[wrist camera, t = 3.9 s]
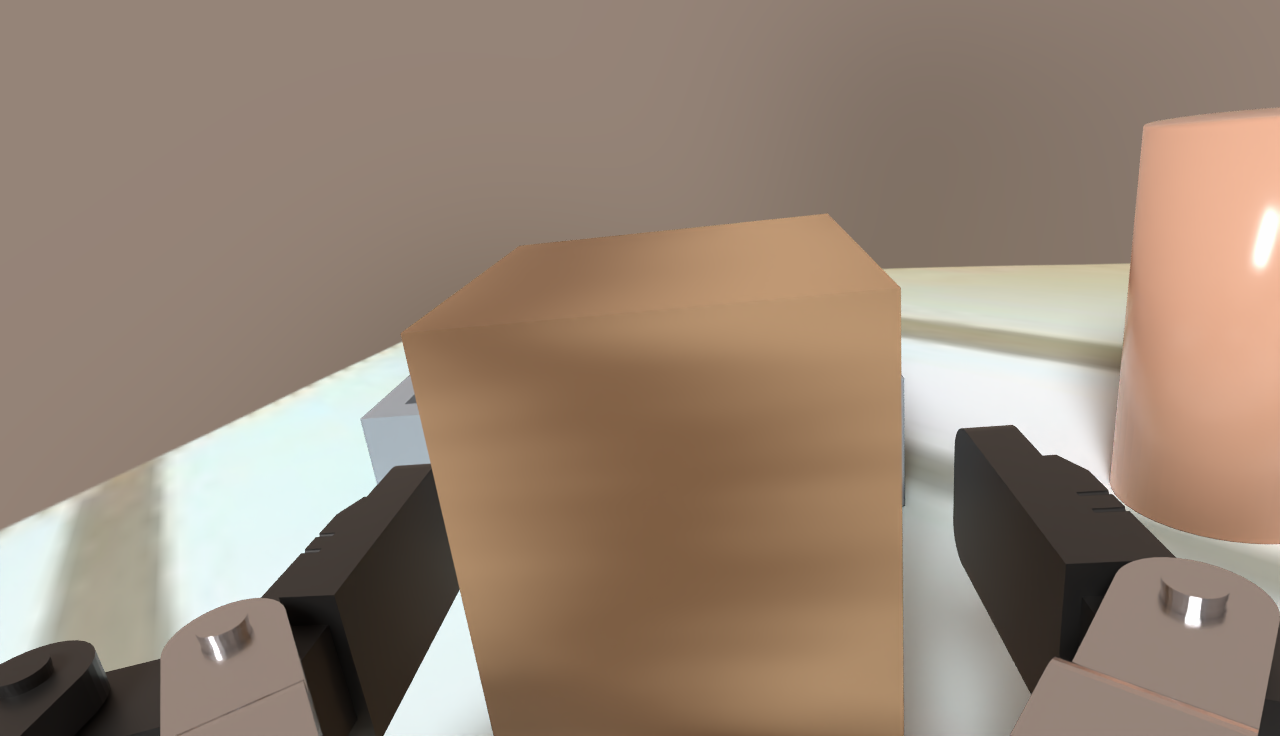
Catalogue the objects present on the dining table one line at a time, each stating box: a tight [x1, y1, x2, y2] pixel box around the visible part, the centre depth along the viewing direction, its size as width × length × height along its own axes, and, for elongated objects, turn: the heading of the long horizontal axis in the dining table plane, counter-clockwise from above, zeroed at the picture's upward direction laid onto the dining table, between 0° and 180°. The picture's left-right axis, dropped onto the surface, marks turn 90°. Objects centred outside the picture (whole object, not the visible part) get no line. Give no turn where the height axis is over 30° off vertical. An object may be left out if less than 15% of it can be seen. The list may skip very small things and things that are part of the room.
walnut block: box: [401, 214, 904, 736], centre depth 11 cm, size 5×5×10 cm
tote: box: [361, 375, 905, 506], centre depth 32 cm, size 20×16×4 cm
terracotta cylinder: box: [1110, 107, 1280, 544], centre depth 19 cm, size 5×5×10 cm
